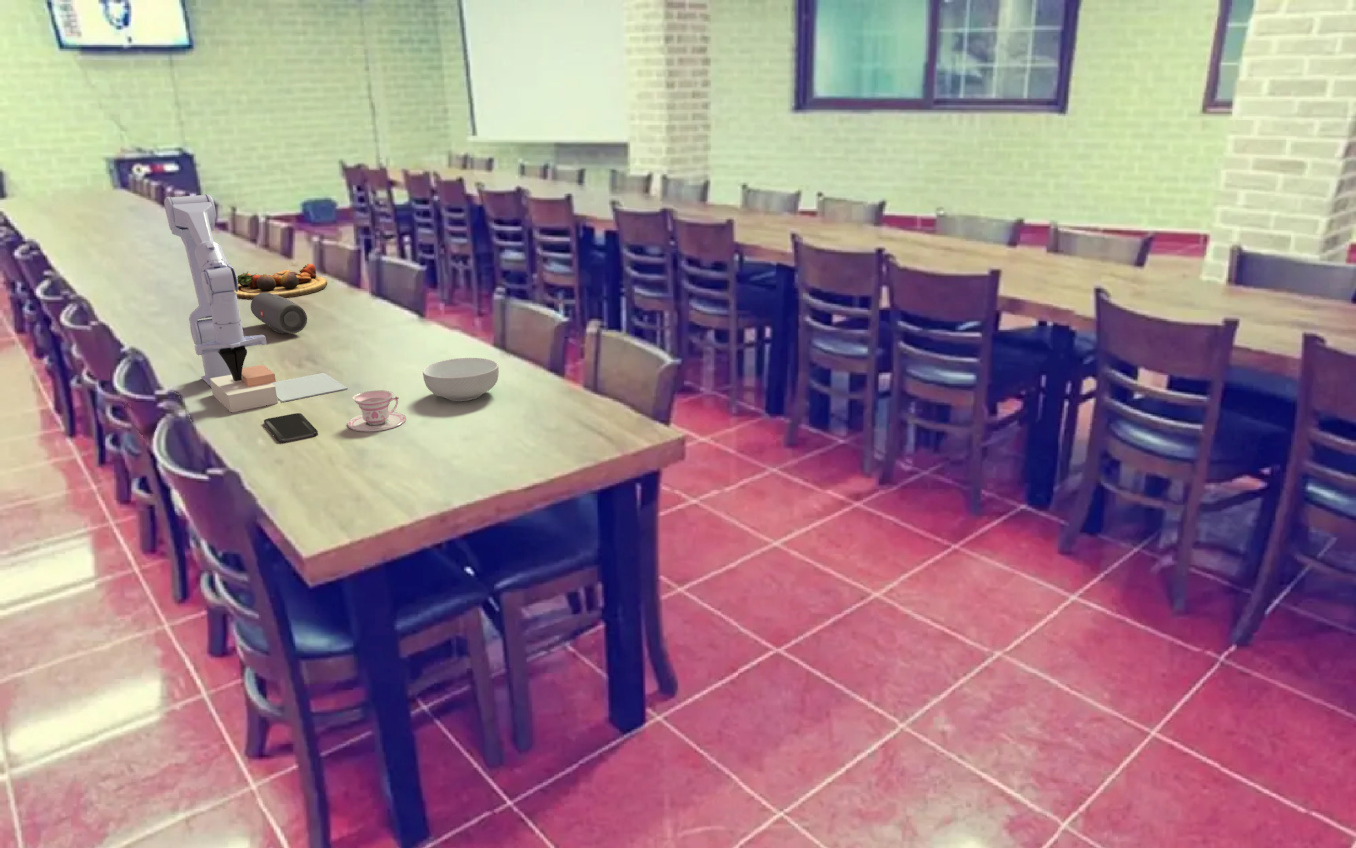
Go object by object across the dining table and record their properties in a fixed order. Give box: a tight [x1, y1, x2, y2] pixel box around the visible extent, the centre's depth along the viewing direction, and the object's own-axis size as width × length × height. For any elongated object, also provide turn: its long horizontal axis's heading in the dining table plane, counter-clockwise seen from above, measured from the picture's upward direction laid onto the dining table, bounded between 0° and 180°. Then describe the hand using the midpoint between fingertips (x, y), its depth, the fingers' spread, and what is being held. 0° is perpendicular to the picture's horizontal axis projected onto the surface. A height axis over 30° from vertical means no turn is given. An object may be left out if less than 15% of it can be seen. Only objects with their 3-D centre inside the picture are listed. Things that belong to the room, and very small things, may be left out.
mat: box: [272, 372, 349, 403], centre depth 222 cm, size 16×15×1 cm
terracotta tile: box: [241, 364, 277, 387], centre depth 214 cm, size 9×6×2 cm, turn 38°
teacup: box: [346, 389, 407, 433], centre depth 198 cm, size 12×12×6 cm
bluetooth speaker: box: [250, 293, 308, 335], centre depth 272 cm, size 23×9×10 cm, turn 42°
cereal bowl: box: [422, 357, 499, 402], centre depth 214 cm, size 17×17×7 cm
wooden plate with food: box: [234, 263, 328, 300], centre depth 326 cm, size 32×32×8 cm
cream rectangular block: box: [210, 375, 279, 413], centre depth 214 cm, size 16×10×4 cm, turn 38°
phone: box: [263, 412, 319, 444], centre depth 196 cm, size 8×1×15 cm
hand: (237, 379), depth 212 cm, fingers closed
